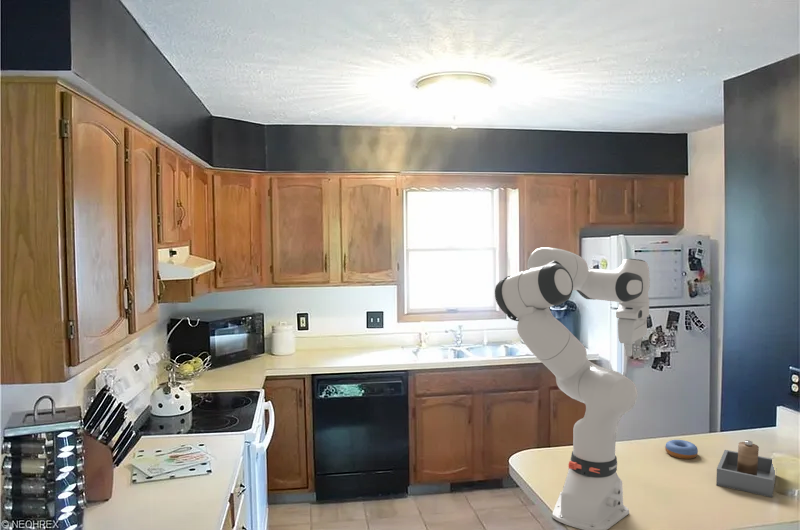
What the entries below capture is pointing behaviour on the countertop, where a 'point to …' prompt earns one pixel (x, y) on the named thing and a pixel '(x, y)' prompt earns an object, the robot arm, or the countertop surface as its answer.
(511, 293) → the robot arm
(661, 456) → the countertop surface
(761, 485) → the bin
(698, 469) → the countertop surface
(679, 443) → the doughnut
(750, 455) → the pepper mill
